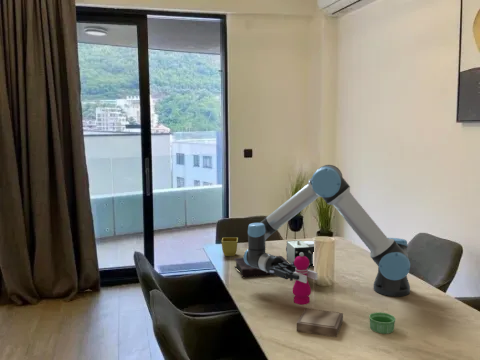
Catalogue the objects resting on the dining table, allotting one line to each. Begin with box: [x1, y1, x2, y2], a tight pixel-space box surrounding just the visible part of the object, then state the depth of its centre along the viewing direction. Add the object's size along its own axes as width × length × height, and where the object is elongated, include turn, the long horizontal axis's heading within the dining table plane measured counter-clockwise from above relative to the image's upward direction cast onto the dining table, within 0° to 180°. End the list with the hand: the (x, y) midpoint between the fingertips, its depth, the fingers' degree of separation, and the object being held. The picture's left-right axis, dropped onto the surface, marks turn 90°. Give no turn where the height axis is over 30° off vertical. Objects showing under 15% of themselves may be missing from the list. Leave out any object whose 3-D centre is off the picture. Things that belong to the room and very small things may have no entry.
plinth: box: [296, 307, 344, 338], centre depth 168 cm, size 14×14×3 cm
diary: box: [233, 255, 290, 279], centre depth 232 cm, size 19×25×5 cm
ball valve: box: [285, 239, 312, 274], centre depth 220 cm, size 18×8×18 cm, turn 11°
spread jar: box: [303, 240, 315, 268], centre depth 240 cm, size 12×11×12 cm
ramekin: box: [368, 311, 396, 335], centre depth 165 cm, size 9×9×4 cm
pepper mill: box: [292, 252, 312, 306], centre depth 182 cm, size 7×7×20 cm
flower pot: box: [221, 237, 239, 257], centre depth 258 cm, size 9×9×9 cm
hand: (311, 277), depth 178 cm, fingers closed on pepper mill, 5 cm apart
